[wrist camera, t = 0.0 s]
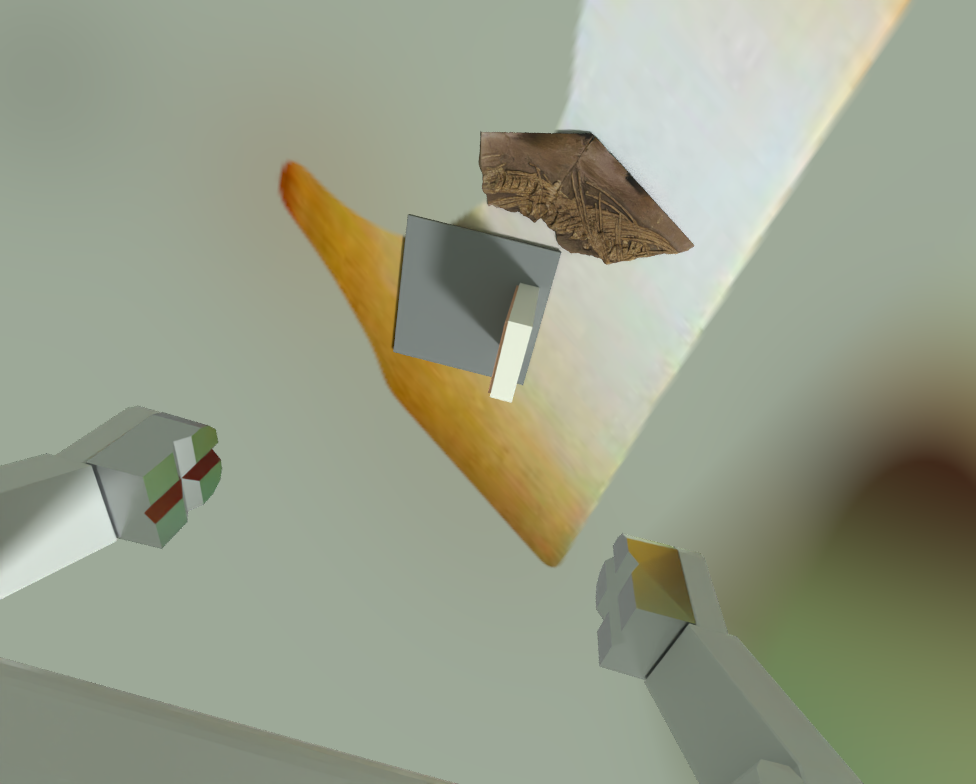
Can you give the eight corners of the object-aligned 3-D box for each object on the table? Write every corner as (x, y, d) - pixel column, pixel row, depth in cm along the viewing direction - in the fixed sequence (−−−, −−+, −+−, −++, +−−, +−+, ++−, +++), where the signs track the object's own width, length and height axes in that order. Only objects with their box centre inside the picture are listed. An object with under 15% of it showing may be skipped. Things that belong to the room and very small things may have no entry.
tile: (517, 282, 55) (505, 320, 45) (539, 287, 55) (532, 327, 45) (501, 348, 60) (487, 396, 50) (521, 353, 60) (511, 402, 50)
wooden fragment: (457, 186, 52) (455, 187, 51) (503, 79, 46) (502, 78, 45) (652, 298, 55) (653, 301, 54) (717, 211, 49) (720, 212, 48)
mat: (409, 214, 54) (407, 214, 53) (560, 251, 53) (560, 252, 53) (394, 350, 63) (393, 351, 63) (523, 383, 63) (523, 385, 62)
